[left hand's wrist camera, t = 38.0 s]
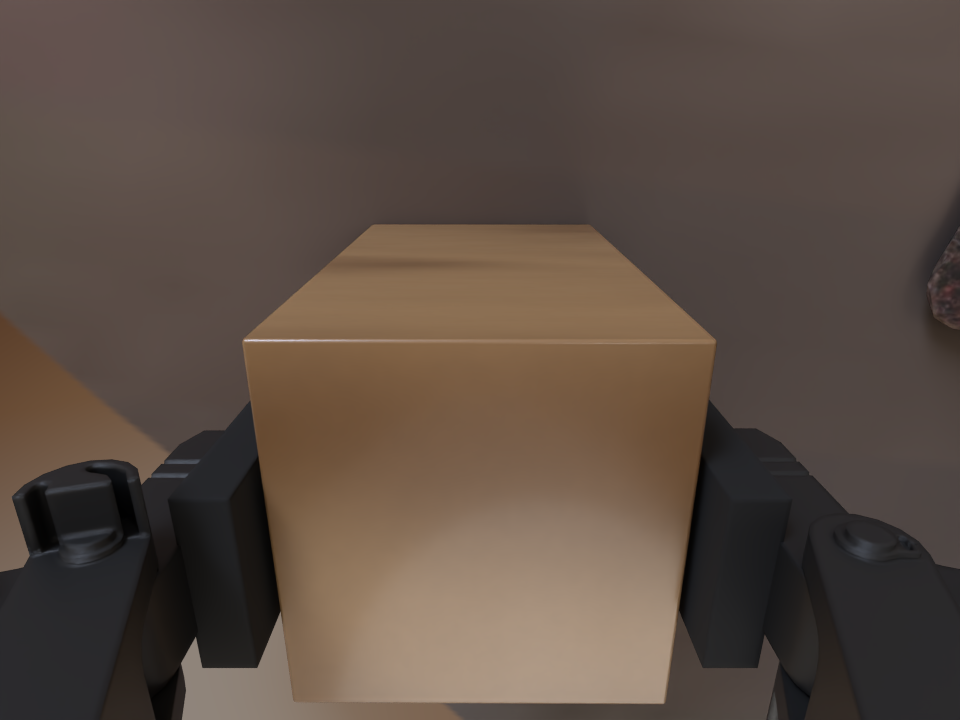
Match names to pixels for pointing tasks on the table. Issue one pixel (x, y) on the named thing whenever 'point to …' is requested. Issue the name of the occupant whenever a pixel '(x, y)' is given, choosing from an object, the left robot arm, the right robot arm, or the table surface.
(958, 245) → the axe head
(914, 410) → the table surface
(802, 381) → the table surface
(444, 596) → the block
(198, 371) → the table surface
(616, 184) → the table surface
